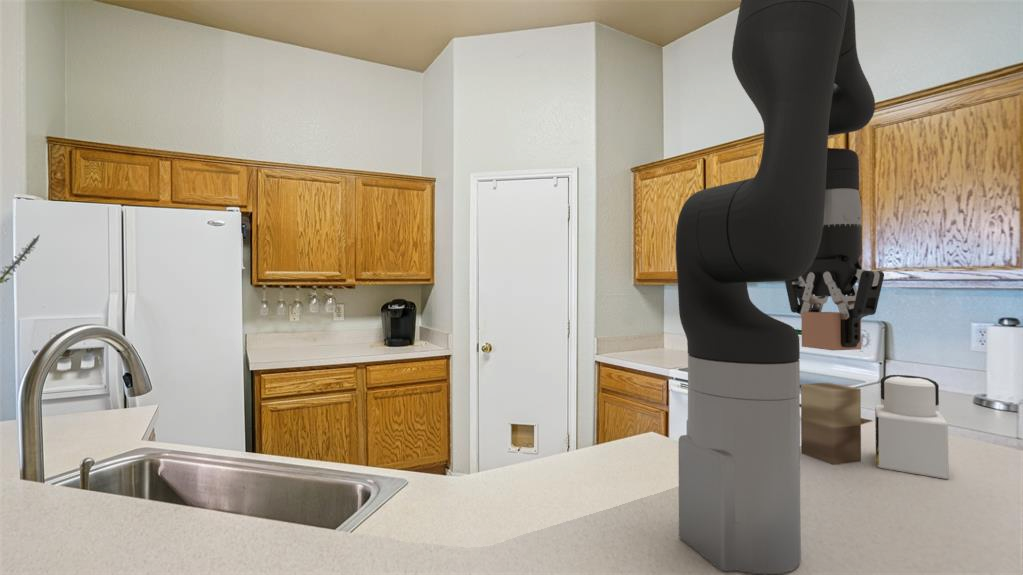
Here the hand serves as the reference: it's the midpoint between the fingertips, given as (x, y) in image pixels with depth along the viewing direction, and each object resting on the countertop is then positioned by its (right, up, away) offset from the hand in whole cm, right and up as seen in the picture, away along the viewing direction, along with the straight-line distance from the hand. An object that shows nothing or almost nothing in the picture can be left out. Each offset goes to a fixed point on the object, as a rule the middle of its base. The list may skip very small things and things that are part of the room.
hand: (830, 344), depth 69 cm
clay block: (0, 0, 0) cm, 0 cm away
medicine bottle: (+8, -16, -4) cm, 18 cm away
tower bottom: (0, -16, 0) cm, 16 cm away
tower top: (0, -11, 0) cm, 11 cm away
